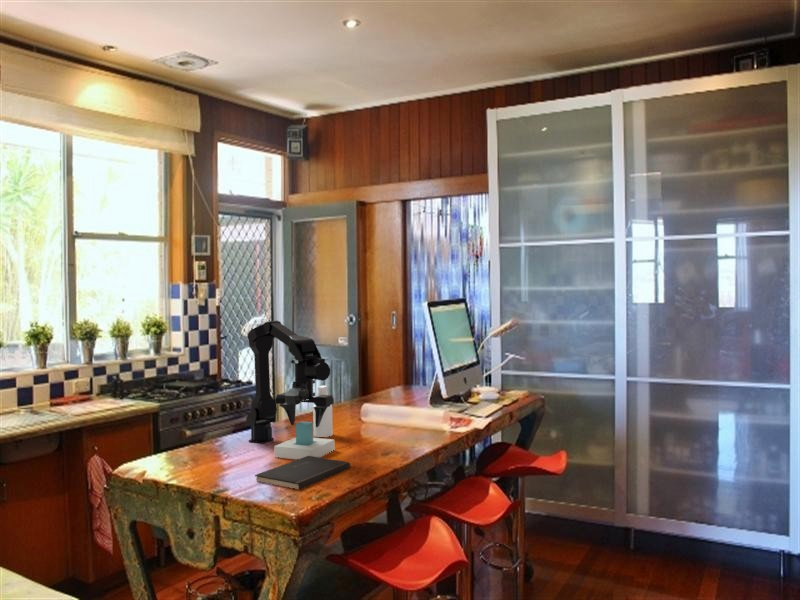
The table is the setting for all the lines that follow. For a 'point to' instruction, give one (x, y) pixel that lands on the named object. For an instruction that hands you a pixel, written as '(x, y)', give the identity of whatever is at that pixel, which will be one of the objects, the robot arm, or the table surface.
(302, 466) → the hardcover book
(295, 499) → the table surface
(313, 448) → the socket block
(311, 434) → the peg
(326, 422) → the white bottle
